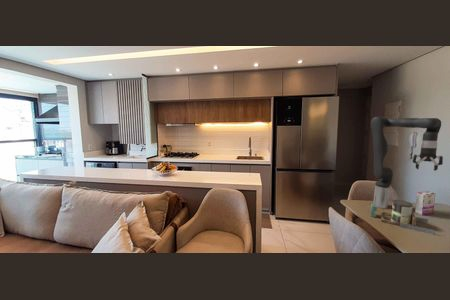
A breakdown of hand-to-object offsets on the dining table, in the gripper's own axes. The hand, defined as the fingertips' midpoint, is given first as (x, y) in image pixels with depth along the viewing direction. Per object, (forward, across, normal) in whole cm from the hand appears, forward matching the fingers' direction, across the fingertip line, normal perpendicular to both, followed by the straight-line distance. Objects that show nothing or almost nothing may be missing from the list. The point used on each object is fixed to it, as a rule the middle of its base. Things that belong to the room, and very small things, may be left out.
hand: (426, 169), depth 133 cm
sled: (+36, -17, -15) cm, 43 cm away
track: (+36, -6, -15) cm, 40 cm away
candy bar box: (+36, +4, +12) cm, 38 cm away
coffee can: (+36, -12, -15) cm, 41 cm away
